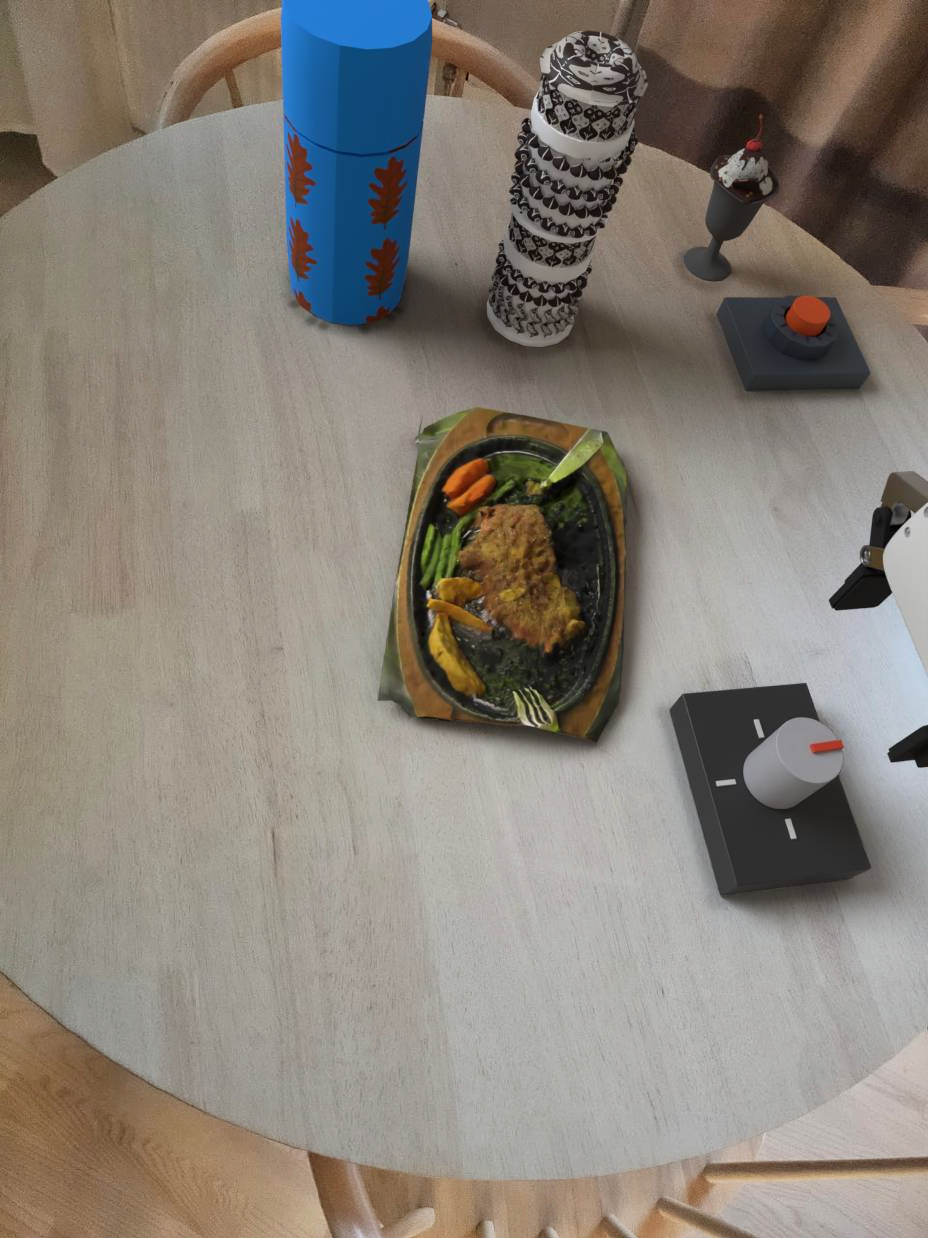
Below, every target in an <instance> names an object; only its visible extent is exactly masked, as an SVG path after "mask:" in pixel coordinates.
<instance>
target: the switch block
mask: <svg viewBox="0 0 928 1238" xmlns="http://www.w3.org/2000/svg"><path fill="white" fill-rule="evenodd" d="M801 296H802V295H785V296H773V297H771V296H770V297H769V296H767V297H766V296H761V297H760V296H752V297H751V296H750V297H749V296H745V297H744V296H743V297H742V296H733V297H731V296H730V297H729V296H727V297H726V296H725V297H723V299H722V302H721V304H720V306H719V308H718V310H717V311H716V317H717V320H718V322H719V325H720V327H721V330H722V332H723V335H724V338H725V341H726V344H727V346H728V349H729V352H730V354H731V356H732V359H733V362H734V365H735V367H736V371H737V373H738V375H739V378H740V381H741V383H742V386H743V388H744V391H745V392H765V391H766V392H767V391H769V392H770V391H771V392H772V391H811V390H813V391H815V390H855V389H856V390H858V389H860V388H862V386H863V385H864V383H865V382H866V380H868V378H869V376H870V375H871V374H872V373H871V371H870V368H869V366H868V364H867V362H866V360H865V357H864V355H863V353H862V351H861V349H860V347H859V344H858V343H857V340H856V337H855V336H854V334H853V331H852V329H851V328H850V327H851V326H850V325H849V322H848V320H847V318H846V316H845V314H844V312H843V309H842V308H841V305H840V303H839V300H838V299H837V297H836V296H820V297H819V296H814V297H815V298H817V299H819V300H821V301H822V302H824V303H825V304H826V305H827V306H828V308H829V310H830V319H829V320H828V322H827V323H826V325H825V326H824V328H823V330H822V331H821V333H820V334H819V335H817V336H815V337H806V336H804V335H801V334H798V333H796V332H795V331H793V330H792V329H791V328H790V327H789V326H788V325H787V323H786V315H787V313H788V311H789V309H790V308H791V306H792V304H793V302H794V301H795V300H796V299H797V298H798V297H801Z"/></svg>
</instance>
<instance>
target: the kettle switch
mask: <svg viewBox="0 0 928 1238" xmlns="http://www.w3.org/2000/svg"><path fill="white" fill-rule="evenodd" d="M800 296H801V297H798V298H797V299H796V300H795V301H794V302H793V304H792V306H791V308H790V309H789V311H788V313H787V315H786V323H787V325H788V326H789V327H790V328H791V329H792V330H793V331H795V332H796V333H798V334H801V335H804V336H806V337H815V336H817V335H819V334H820V333H821V331H822V330H823V328H824V326H825V325H826V323H827V322H828V320H829V319H830V310H829V308H828V306H827V305H826V304H825V303H824V302H822V301H821V300H819V299H817V298H815V297H816V296H811V295H800Z"/></svg>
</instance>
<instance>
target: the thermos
mask: <svg viewBox="0 0 928 1238" xmlns="http://www.w3.org/2000/svg"><path fill="white" fill-rule="evenodd" d="M281 1H282V2H281V11H280V12H281V13H280V37H281V39H280V40H281V41H280V44H281V77H282V79H281V80H282V115H283V117H282V118H283V119H282V120H283V152H284V153H283V155H284V194H285V195H284V197H285V227H286V228H285V230H286V231H285V233H286V250H287V260H288V271H289V282H290V291H291V293H292V295H293V297H294V298H295V299H296V301H297V302H298V305H299V306H300V307H302V308H303V309H305V310H306V311H307V312H309V313H310V314H311V315H312V316H314V317H316V318H319V319H321V320H324V321H327V322H329V323H331V324H339V325H340V324H341V325H347V326H348V325H349V326H356V325H363V324H370V323H374V322H376V321H377V320H380V319H382V318H384V317H386V316H388V315H389V314H391V312H392V311H393V310H394V309H395V308H396V307H397V306H398V305H399V303H400V300H401V297H402V294H403V290H404V285H405V280H406V274H407V269H408V264H409V258H410V249H411V248H410V247H411V240H412V239H411V238H412V229H413V221H414V212H415V202H416V196H417V195H416V194H417V183H418V176H419V175H418V174H419V166H420V157H421V147H422V139H423V131H424V119H425V112H426V103H427V94H428V85H429V77H430V76H429V75H430V66H431V57H432V49H433V13H432V10H431V6H430V1H429V0H281Z"/></svg>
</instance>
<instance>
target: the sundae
mask: <svg viewBox="0 0 928 1238" xmlns="http://www.w3.org/2000/svg"><path fill="white" fill-rule="evenodd" d="M763 118H764V115H763V113H760V114H759V116H758V119H759V123H760V128H759V132H758V134H757V136H756V137H755V138H752V139H750V140H748V141H747V142H746V145H745V147H744V148H742V149H741V148H740V149H739V150H737V151H736V152H735V153H734V154H723V155H719V156H718V157H716V159H715V160H714V162H713V163H712V165H711V167H710V171H709V177H710V179H711V180H712V181H713V186H712V190H711V194H710V198H709V201H708V205H707V208H706V214H705V219H704V222H705V223H704V224H705V227H706V228H707V231H708V232H709V234H710V235H711V237H712V238H711V239H710V242H709V244H708V245H707V246H694V247H692V248H690V249H688V250H686V252H685V253H684V255H683V264H684V266H685V268H686V270H688V271H689V273H691V274H692V275H693V276H694V277H696V278H699V279H701V280H704V281H708V282H719V281H722V280H725V279H726V278H727V277H728V276H729V275H730V273H731V264H730V262H729V260H728V258H727V257H726V256H725V255H723V253H721V252H720V250H721V248H722V246H723V244H724V242H727V241H732V240H735V239H737V238H739V237H740V236H742V235H743V233H744V232H745V231H746V229H747V228H748V227H749V226H750V225H751V223H752V222H753V220H754V218H755V217H756V216H757V214H758V212H759V211H760V209H761V207H762V206H763V205H764V203H766V201H769V200H771V199H773V198H775V197H777V195H778V194H779V193H780V181H779V178H778V176H777V174H776V172H775V171H774V169H773V168H772V167H771V166H770V165H769V162H768V157H767V155H766V153H765V152H764V151H763V150H762V147H763V144H762V141H761V139H762V136H763V132H764V131H763V130H764V125H763Z"/></svg>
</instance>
